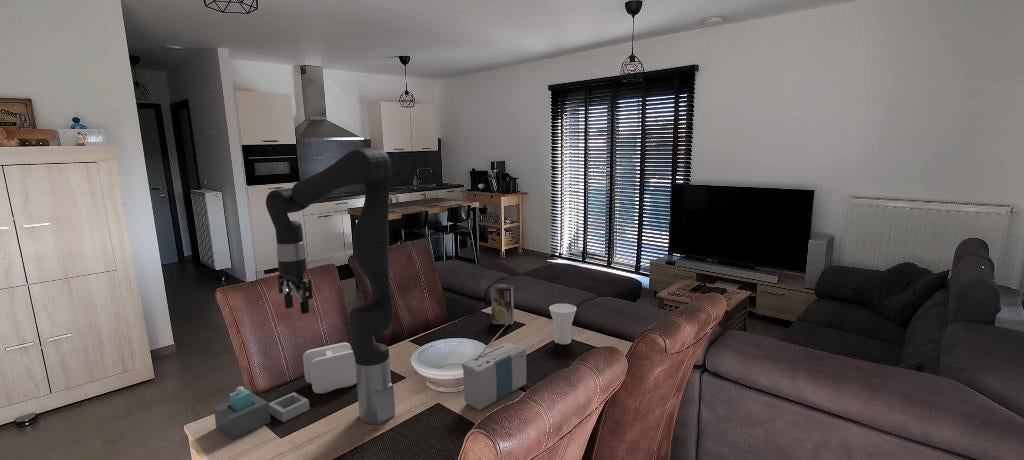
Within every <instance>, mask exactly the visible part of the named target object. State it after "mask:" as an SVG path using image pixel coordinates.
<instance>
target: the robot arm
mask: <svg viewBox="0 0 1024 460" xmlns="http://www.w3.org/2000/svg"><path fill="white" fill-rule="evenodd" d="M391 178H392V164H391V159H390V157H389V155H388V152H386V151H385V150H384V149H382V148H380V147H359V148H354V149H352V150H350V151H349V152H347V153H345V154H344V155H343V156H341V157H340V158H339V159H338V160H336V161H335V162H334V163H332V164H331V165H329V166H328V167H326V168H324V169H322V170H320V171H318V172H316V173H314V174H312V175H309V176H308V177H307V176H306V177H305V178H303V179H301V180H299V181H297V182H296V183H295V184H294V185H293V186H292V187H291V188H290V187H289V188H288V187H287V188H279V189H273V190H270V191H269V192H268V194H267V195H266V198H265V207H266V211H267V212H268V215H269V217H270V220H271V222H272V224H273V227H274V229H275V239H276V257H277V268H278V274H277V285H278V293H279V294H281V295H282V297H283V299H284V302H283V303H284V307H285V309H287V310H288V309H292V308H293V307H294V300H293V295H292V294H293V293H294V295H295V296H296V297H297V298H298V301H299V308H300V313H301V314H303V315H305V314H308V313H309V312H310V307H309V306H310V305H309V300H314V295H313V289H312V279H310V278H307V279H305V277H304V274H305V273H307V271H308V266H307V254H306V253H307V252H306V247H305V242H304V234H303V227H302V223H301V222H299V221H296V220H291V219H290V217H289V214H293V213H297V212H300V211H304V210H305V209H306V208H309V207H310V206H311V205H312V204H315V203H317V202H320V201H322V200H325V199H326V198H328V197H329V196H331V195H333V194H334V192H335V191H337V190H340V189H342V188H346V187H350V186H356V185H357V186H358V185H360V186H361V185H362V186H364V187H365V188H364V189H365V192H364V193H365V195H364V202H363V205H362V209H361V210H360V214H359V216H358V218H357V220H356V223H355V225H354V227H353V229H354V230H353V234H352V245H353V246H352V248H353V249H352V250H353V259H354V262H355V264H356V265H357V266H358V268H359V269H360V271H361V272H362V274H363V275H364V276H365V278H366V280H367V281H368V283H369V286H370V295H371V296H370V297H371V298H370V301H369V302H366V303H363V304H360V305H356V306H354V307H352V308H351V309H350V310H349V313H348V321H347V322H348V329H349V337H350V344H351V345H350V346H351V351H353V353H354V356H355V367H356V380H357V383H356V389H357V402H358V403H357V404H358V414H359V420H360V421H361V422H362V423H364V424H369V425H377V426H380V425H381V424H383V423H385V422H386V421H388V420H390V419H391V418H393V417H395V416H396V408H395V407H396V405H395V393H394V392H395V391H394V390H395V389H394V384H393V383H392V379H391V361H390V349H389V347H388V345H386V344H384V343H380V342H374V337H375V336H378V335H380V334H383V333H385V332H386V331H387V332H388V330H390V329H391V328H392V326H393V323H394V308H393V300H392V292H391V290H392V289H391V280H390V234H389V199H390V191H391V190H390V187H391V181H392V180H391Z"/></svg>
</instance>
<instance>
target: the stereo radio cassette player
mask: <svg viewBox="0 0 1024 460" xmlns="http://www.w3.org/2000/svg"><path fill="white" fill-rule="evenodd" d="M508 325H509V324H505V326H504V327H503V328H502V329H501V330H500V331H499V332H498V333H497V334H496V335H495V336H494V337H493V339H492V340H491V341H490V342H488V344H487V346H485V347H484V348H483V350H482V351H481V352H480V353H479V354H478V355H476V356H474V357H472V358H469V359H467V360H465V361H462V364H461V367H462V371H463V372H462V373H463V392H464V393H463V394H464V395H463V396H464V397H463V399H464V402H465V403H466V404H467V405H469V406H471V407H472V408H474V409H475V410H477V411H481V410H483V409H485V408H486V407H488V406H490V405H492V404H493V403H495V402H497V401H499V400H500V399H502V398H503V397H506V396H507V395H510V394H511V393H513V392H514V391H517V390H518V389H520V388H522V387H523V386H525V384H526V383H527V353H526V349H525V347H522V346H520V345H517V344H516V343H515V344H514V343H510V342H504V343H502V344H500V345H498V346H495V347H494V348H491V349H489V347H490V345H491V344H492V343H494V341H495V340H496V338H497V337H499V335H500V334H501V333H502V332H503V330H504V329H505V328H506V326H508ZM487 349H489V350H487Z"/></svg>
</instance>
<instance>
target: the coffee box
mask: <svg viewBox="0 0 1024 460" xmlns="http://www.w3.org/2000/svg"><path fill="white" fill-rule="evenodd" d="M490 304H491V305H490V306H491V309H490V310H491V324H492V323H493V324H492V325H506V324H508V325H513V323H514V322H515V313H514V312H515V309H514V308H515V307H514V306H515V305H514V284H504V283H503V284H501V283H500V284H499V283H498V284H497V283H493V284H492V285H491V288H490Z"/></svg>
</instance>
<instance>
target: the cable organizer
mask: <svg viewBox="0 0 1024 460" xmlns="http://www.w3.org/2000/svg"><path fill="white" fill-rule="evenodd" d="M350 344H351V343H348V342H340V343H336V344H329V345H326V346H322V347H317V348H312V349H308V350H307V351H305V352H304V353H303V355H302V363H303V371H304V379H305V381H306V383H308V384H311V388H312V391H313V392H314V393H315V394H327V393H330V392H332V391H334V390H337V389H341V388H342V389H345V388H348V387H353V385H355V384H357V380H356V367H355V356H354V353H353V350H352V346H351V345H350Z"/></svg>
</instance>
